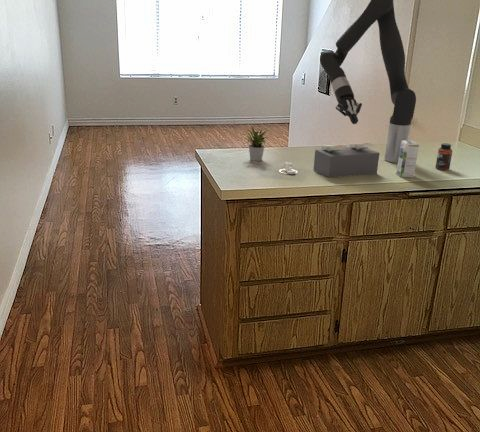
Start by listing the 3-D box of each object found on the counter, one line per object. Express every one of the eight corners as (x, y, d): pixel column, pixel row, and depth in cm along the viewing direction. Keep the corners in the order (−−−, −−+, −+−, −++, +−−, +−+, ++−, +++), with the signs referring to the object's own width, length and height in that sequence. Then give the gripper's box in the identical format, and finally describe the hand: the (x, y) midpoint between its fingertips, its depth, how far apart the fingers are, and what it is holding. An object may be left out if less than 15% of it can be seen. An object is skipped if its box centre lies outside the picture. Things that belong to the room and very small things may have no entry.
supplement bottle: (449, 168, 236) (453, 143, 232) (449, 171, 231) (454, 146, 227) (435, 166, 238) (439, 141, 234) (435, 169, 233) (439, 144, 229)
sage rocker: (332, 150, 223) (332, 144, 223) (345, 151, 214) (345, 145, 214) (321, 151, 222) (321, 145, 221) (335, 151, 212) (335, 145, 212)
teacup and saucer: (296, 176, 216) (297, 166, 215) (277, 174, 218) (277, 165, 216) (298, 170, 224) (299, 161, 223) (279, 169, 226) (280, 159, 224)
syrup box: (395, 173, 225) (400, 140, 219) (409, 173, 225) (414, 140, 220) (400, 177, 219) (405, 143, 214) (414, 177, 220) (419, 143, 215)
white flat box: (359, 148, 229) (359, 143, 228) (373, 148, 220) (373, 142, 219) (349, 149, 227) (349, 144, 226) (363, 149, 218) (363, 143, 217)
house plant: (232, 160, 234) (233, 124, 228) (243, 154, 246) (245, 119, 240) (262, 165, 229) (264, 127, 223) (272, 158, 241) (275, 122, 235)
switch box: (360, 166, 234) (362, 146, 231) (376, 173, 224) (379, 152, 220) (313, 170, 225) (315, 149, 222) (328, 177, 214) (330, 156, 211)
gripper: (333, 84, 225) (346, 118, 219) (359, 84, 230) (372, 117, 224) (325, 95, 232) (338, 128, 226) (350, 94, 237) (363, 127, 231)
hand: (355, 123), depth 225 cm, fingers closed
